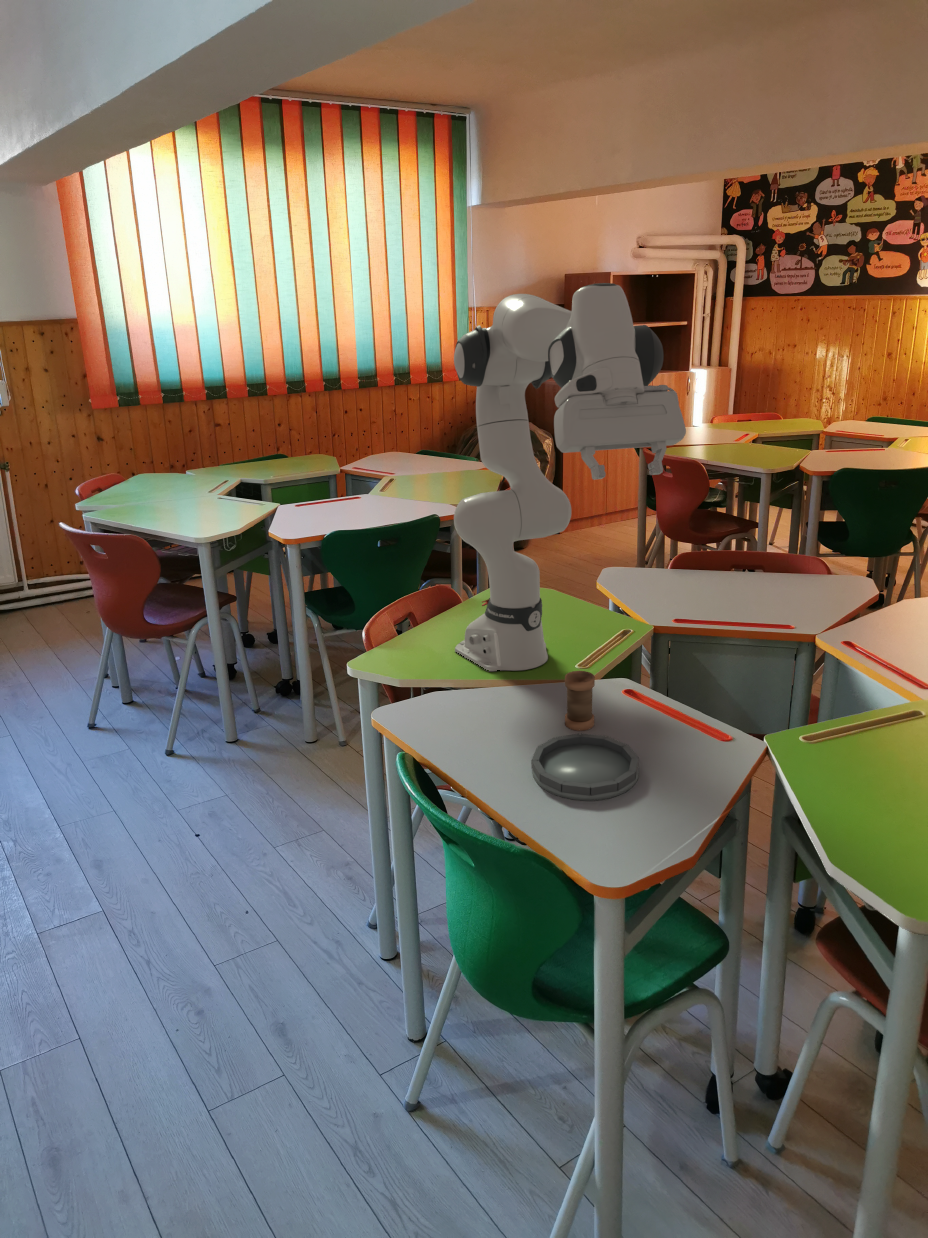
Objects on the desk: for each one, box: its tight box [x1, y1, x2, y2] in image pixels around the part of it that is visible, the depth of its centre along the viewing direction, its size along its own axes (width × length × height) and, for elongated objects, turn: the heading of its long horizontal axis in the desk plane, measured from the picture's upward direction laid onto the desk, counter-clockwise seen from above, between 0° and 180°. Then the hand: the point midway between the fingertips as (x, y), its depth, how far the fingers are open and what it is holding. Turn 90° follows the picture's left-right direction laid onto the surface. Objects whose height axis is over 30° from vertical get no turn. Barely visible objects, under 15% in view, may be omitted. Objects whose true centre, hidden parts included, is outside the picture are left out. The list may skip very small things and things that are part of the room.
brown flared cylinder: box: [564, 670, 596, 732], centre depth 169 cm, size 6×6×10 cm
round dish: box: [531, 732, 640, 802], centre depth 154 cm, size 18×18×2 cm
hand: (628, 476), depth 133 cm, fingers open, 8 cm apart
